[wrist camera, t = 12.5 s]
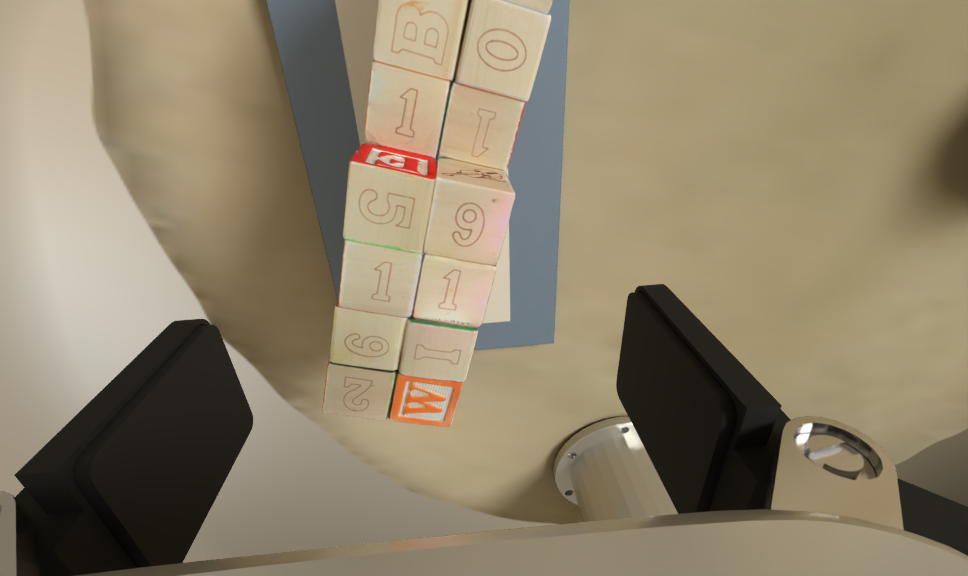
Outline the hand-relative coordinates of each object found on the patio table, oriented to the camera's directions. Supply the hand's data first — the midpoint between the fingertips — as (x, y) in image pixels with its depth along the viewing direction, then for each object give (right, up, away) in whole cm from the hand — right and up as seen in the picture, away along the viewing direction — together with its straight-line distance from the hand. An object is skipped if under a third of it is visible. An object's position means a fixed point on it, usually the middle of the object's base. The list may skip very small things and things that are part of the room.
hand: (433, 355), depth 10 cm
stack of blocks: (-2, +10, +17) cm, 20 cm away
